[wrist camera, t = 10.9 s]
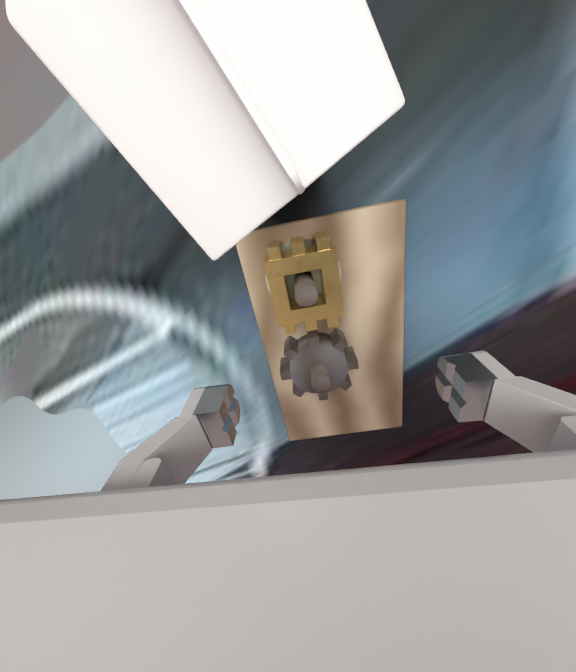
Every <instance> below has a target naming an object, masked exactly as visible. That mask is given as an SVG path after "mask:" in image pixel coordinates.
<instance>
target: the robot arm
mask: <svg viewBox="0 0 576 672" xmlns="http://www.w3.org/2000/svg"><path fill="white" fill-rule="evenodd" d="M437 367H438V368H439V369H440V370H441V371H440V372H439V373H438V374H437V375H436V387H437V391H438V393H439V395H440V397H441V398H442V400H444V401H446V402H448V403H449V410H450V411H451V413H452V414H453V415H454V417H455V418H456V420H457V421H458V422H468V421H481V420H484V422H486V423H488V424H489V425H491V426H492V427H494V428H496V429H497V430H499V431H500V432H502V433H504V434H505V435H507V436H508V437H510V438H512V439H513V440H515V441H516V442H518V443H520V444H521V445H523V446H524V447H526V448H528V449H529V450H531V451H532V452H534V453H524V454H513V455H502V456H491V457H480V458H468V459H457V460H446V461H434V462H423V463H412V464H400V465H389V466H378V467H367V468H356V469H344V470H333V471H322V472H311V473H300V474H289V475H277V476H266V477H255V478H244V479H233V480H221V481H210V482H199V483H188V484H184V483H185V482H186V481H187V480H188V479H189V477H190V476H191V475H192V474H193V472H194V471H195V470H196V469H197V468H198V466H199V465H200V464H201V463H202V461H203V460H204V459H205V458H206V457H207V455H208V454H209V453H210V452H211V451H212V448H219V447H226V446H233V444H234V439H235V435H236V429H235V426H236V425H237V424H238V423H239V419H240V408H239V403H238V400H237V399H235V398H234V397H233V395H234V390H233V387H232V385H230V384H227V385H217V386H208V387H200V388H195V389H193V391H192V393H191V395H190V396H189V398H188V400H187V402H186V404H185V406H184V408H183V410H182V412H181V414H180V416H179V417H175V418H174V419H173V420H171V421H170V422H169V423H168V424H166V425H165V426H164V427H162V428H161V429H160V430H159V431H157V432H156V433H155V434H154V435H152V436H151V437H150V438H148V439H147V440H146V441H145V442H143V443H142V444H141V445H139V446H138V447H137V448H136V449H134V450H133V451H132V452H131V453H129V454H128V455H127V456H125V457H124V458H123V459H122V460H120V462H119V463H118V465H117V466H116V468H115V469H114V471H113V473H112V474H111V476H110V477H109V479H108V480H107V482H106V483H105V485H104V486H103V488H102V490H101V491H98V492H87V493H76V494H65V495H54V496H42V497H31V498H19V499H5V500H0V672H576V395H573V394H571V393H568V392H565V391H562V390H559V389H556V388H553V387H550V386H547V385H545V384H542V383H539V382H536V381H533V380H530V379H527V378H524V377H521V376H520V377H516V376H515V375H513V374H512V373H511V372H510V371H509V370H507V369H506V368H505V367H504V366H503V365H502V364H500V363H499V362H498V361H497V360H496V359H494V358H493V357H492V356H491V355H490V354H489V353H487V352H486V351H476V352H470V353H466V354H459V355H451V356H444V357H439V359H438V363H437Z"/></svg>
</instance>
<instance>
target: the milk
mask: <svg viewBox="0 0 576 672" xmlns="http://www.w3.org/2000/svg"><path fill="white" fill-rule="evenodd" d="M6 12H7V17H8V20H9V22H10V23H11V25H12V26H13V28H14V29H15V30H16V31H17V32H18V34H19V35H20V36H21V37H22V38H23V39H24V40H25V42H26V43H27V44H28V45H29V46H30V48H31V49H32V50H33V51H34V52H35V53H36V55H37V56H38V57H39V58H40V59H41V61H42V62H43V63H44V64H45V65H46V66H47V68H48V69H49V70H50V71H51V72H52V73H53V75H54V76H55V77H56V78H57V79H58V80H59V81H60V83H61V84H62V85H63V86H64V87H65V89H66V90H67V91H68V92H69V93H70V94H71V96H72V97H73V98H74V99H75V100H76V101H77V103H78V104H79V105H80V106H81V107H82V108H83V110H84V111H85V112H86V113H87V114H88V115H89V117H90V118H91V119H92V120H93V121H94V123H95V124H96V125H97V126H98V127H99V128H100V130H101V131H102V132H103V133H104V134H105V135H106V137H107V138H108V139H109V140H110V141H111V142H112V144H113V145H114V146H115V147H116V148H117V149H118V151H119V152H120V153H121V154H122V155H123V156H124V158H125V159H126V160H127V161H128V162H129V163H130V165H131V166H132V167H133V168H134V169H135V170H136V172H137V173H138V174H139V175H140V176H141V177H142V179H143V180H144V181H145V182H146V183H147V185H148V186H149V187H150V188H151V189H152V190H153V192H154V193H155V194H156V195H157V196H158V197H159V199H160V200H161V201H162V202H163V203H164V204H165V206H166V207H167V208H168V209H169V210H170V211H171V213H172V214H173V215H174V216H175V217H176V218H177V220H178V221H179V222H180V223H181V224H182V225H183V227H184V228H185V229H186V230H187V231H188V232H189V234H190V235H191V236H192V237H193V238H194V239H195V241H196V242H197V243H198V244H199V245H200V247H201V248H202V249H203V250H204V251H205V252H206V254H207V255H208V256H209V257H210V258H211V259H212V260H217V259H218V258H219V257H221V256H222V255H223V254H224V253H226V252H227V251H228V250H229V249H231V248H232V247H233V246H234V245H236V244H237V243H238V242H239V241H241V240H242V239H243V238H244V237H246V236H247V235H248V234H250V233H251V232H252V231H253V230H255V229H256V228H257V227H258V226H260V225H261V224H262V223H263V222H265V221H266V220H267V219H268V218H270V217H271V216H272V215H273V214H275V213H276V212H277V211H278V210H280V209H281V208H282V207H283V206H285V205H286V204H287V203H288V202H290V201H291V200H292V199H293V198H295V197H296V196H297V195H298V194H302V193H303V192H304V191H305V189H306V188H307V187H308V186H309V185H310V184H312V183H313V182H314V181H315V180H316V179H317V178H319V177H320V176H321V175H322V174H323V173H325V172H326V171H327V170H328V169H329V168H331V167H332V166H333V165H334V164H335V163H336V162H338V161H339V160H340V159H341V158H342V157H344V156H345V155H346V154H347V153H348V152H350V151H351V150H352V149H353V148H354V147H355V146H357V145H358V144H359V143H360V142H361V141H363V140H364V139H365V138H366V137H367V136H368V135H370V134H371V133H372V132H373V131H374V130H376V129H377V128H378V127H379V126H380V125H382V124H383V123H384V122H385V121H386V120H387V119H389V118H390V117H391V116H392V115H393V114H395V113H396V112H397V111H398V110H399V109H400V108H401V107H402V106H403V105H404V103H405V99H404V96H403V93H402V90H401V88H400V85H399V83H398V80H397V78H396V75H395V73H394V70H393V68H392V65H391V63H390V60H389V58H388V55H387V53H386V50H385V48H384V45H383V43H382V40H381V38H380V35H379V33H378V30H377V28H376V25H375V23H374V20H373V18H372V15H371V13H370V10H369V8H368V5H367V3H366V0H6Z"/></svg>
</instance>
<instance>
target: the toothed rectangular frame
mask: <svg viewBox="0 0 576 672" xmlns="http://www.w3.org/2000/svg"><path fill="white" fill-rule="evenodd" d="M313 235H314V242H315V245H313V246H308V247H304V241H303V237H302V236H300V237H295V238H291V246H292V250H288V251H283V252H282V248H281V243H280V241H275V242H270V243H269V244H268V246H267V253H268V255H266V257H265V259H264V262H263V263H264V267H265V272H266V276H267V280H268V284H269V289H270V293H271V297H272V301H273V306H274V310H275V314H276V318H277V323H278V327H282V326H284V328H285V333H286V335H289V334H295V333H296V324H299V323H306V329H307V331H313V330H318V329H317V323H316V321H317V320H322V319H326V322H327V325H328V328H330V327H336V326H339V321H338V317H340V316H344V314H343V304H342V295H341V285H340V275H339V265H338V256H337V248H336V247H335V245H334V244H333V243H332V242H329V236H328V235H327V233H326V232H325V231H324V232H319V233H314V234H313ZM317 269H319V271H320V278H321V285H322V292H323V293H319V294H318V297H317V300H316V302H315V303H314V304H313V305H311V306H309V307H303V306H301V305H299V304H298V303H297V302H296V300H295V298H292V299H290V294H289V289H288V284H287V279H286V275H291V274H296V273H301V272H307V271H312V270H317Z"/></svg>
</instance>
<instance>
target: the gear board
mask: <svg viewBox="0 0 576 672" xmlns="http://www.w3.org/2000/svg"><path fill="white" fill-rule="evenodd" d="M405 216H406V199H397V200H393V201H388V202H383V203H378V204H373V205H369V206H364V207H359V208H354V209H350V210H345V211H340V212H335V213H331V214H326V215H321V216H316V217H311V218H307V219H302V220H297V221H292V222H288V223H283V224H278V225H273V226H269V227H264V228H259V229H255V230H253V231H252V232H251V233H250V234H248V235H247V236H246V237H244V238H243V239H242V240H241V241H239V242H238V243H237V244H236V247H237V251H238V255H239V258H240V262H241V265H242V269H243V273H244V276H245V280H246V283H247V287H248V291H249V294H250V298H251V302H252V305H253V309H254V312H255V316H256V320H257V323H258V327H259V331H260V334H261V338H262V341H263V345H264V349H265V352H266V356H267V360H268V363H269V367H270V370H271V374H272V378H273V381H274V385H275V389H276V392H277V396H278V399H279V403H280V407H281V410H282V414H283V418H284V421H285V425H286V428H287V432H288V436H289V439H290V441H292V440H300V439H308V438H316V437H323V436H331V435H339V434H347V433H354V432H362V431H370V430H377V429H385V428H393V427H401V426H402V394H403V335H404V275H405ZM324 231H325V232H326V233H327V235H328V236H329V242H332V243H333V244H334V245H335V247H336V248H337V256H338V265H339V275H340V285H341V295H342V304H343V314H344V316H340V317H338V321H339V326H336V327H330V328H328V325H327V322H326V319H322V320H317V321H316V323H317V329H318V330H313V331H307V329H306V323H299V324H296V333H295V334H289V335H286V333H285V328H284V326H282V327H278V323H277V318H276V314H275V310H274V306H273V301H272V297H271V293H270V289H269V284H268V280H267V276H266V272H265V267H264V263H263V262H264V259H265V257H266V255H268V253H267V246H268V244H269V243H270V242H275V241H280V243H281V248H282V252H283V251H288V250H292V246H291V238H295V237H300V236H302V237H303V241H304V247H308V246H313V245H315V242H314V235H313V234H314V233H319V232H324ZM286 279H287V284H288V289H289V294H290V299H292V298H295V300H296V302H297V303H298V304H299V305H301V306H303V307H309V306H311V305H313V304H314V303H315V302H316V300H317V297H318V294H319V293H323V292H322V285H321V278H320V271H319V269H317V270H312V271H307V272H301V273H296V274H291V275H286Z"/></svg>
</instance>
